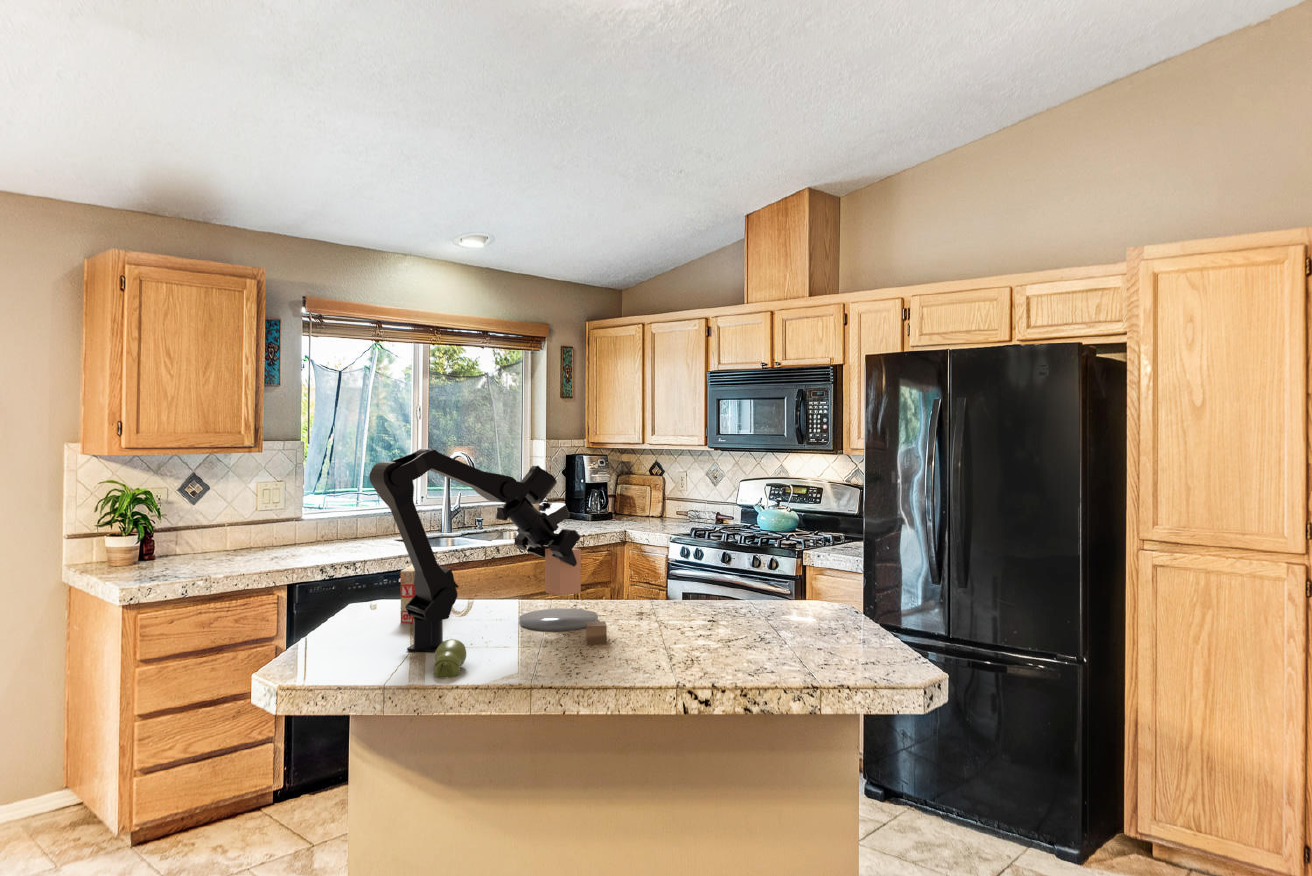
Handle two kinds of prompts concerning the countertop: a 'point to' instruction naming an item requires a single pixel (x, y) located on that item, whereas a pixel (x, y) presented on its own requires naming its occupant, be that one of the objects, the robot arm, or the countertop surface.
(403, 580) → the stack of blocks
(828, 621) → the countertop surface
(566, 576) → the tall clay pillar
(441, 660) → the green rounded piece
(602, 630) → the walnut block
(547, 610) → the slate plate
